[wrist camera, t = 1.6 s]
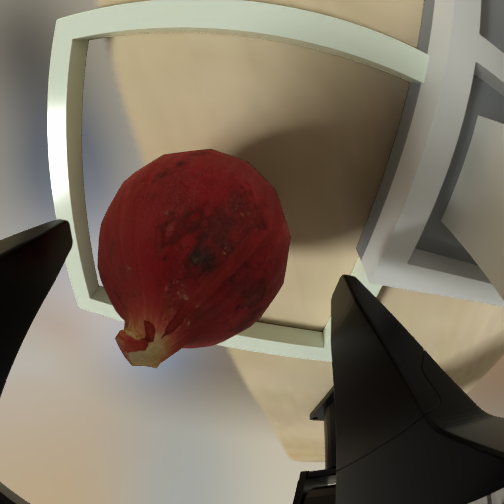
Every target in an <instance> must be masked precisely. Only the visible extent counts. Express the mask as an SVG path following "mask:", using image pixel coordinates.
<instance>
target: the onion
mask: <svg viewBox="0 0 504 504" xmlns="http://www.w3.org/2000/svg"><path fill="white" fill-rule="evenodd" d="M290 239H291V236H290V233H289V230H288V226H287V223H286V220H285V217H284V214H283V211H282V208H281V205H280V201H279V198H278V195H277V192H276V190H275V189H274V188H273V187H272V186H271V185H270V184H269V183H268V182H267V180H266V179H265V178H264V177H263V176H262V175H261V174H260V173H259V172H258V171H257V170H256V169H255V168H254V167H253V166H252V165H251V164H250V163H249V162H247V161H244V160H241V159H238V158H236V157H233V156H230V155H227V154H224V153H221V152H218V151H215V150H212V149H205V150H196V151H187V152H179V153H172V154H165V155H162V156H161V157H159V158H157V159H156V160H154V161H152V162H151V163H149V164H147V165H146V166H144V167H143V168H141V169H139V170H138V171H136V172H135V173H134V174H132V175H131V176H130V177H129V178H128V179H127V180H125V181H124V182H123V184H122V185H121V187H120V189H119V190H118V192H117V194H116V196H115V197H114V199H113V201H112V203H111V204H110V206H109V208H108V210H107V212H106V214H105V216H104V219H103V221H102V223H101V228H100V236H99V247H98V248H99V249H98V270H99V274H100V278H101V281H102V284H103V286H104V289H105V291H106V293H107V295H108V297H109V299H110V301H111V303H112V305H113V307H114V309H115V311H116V312H117V313H118V315H119V316H120V317H121V318H122V319H123V320H124V321H125V326H124V330H121V331H120V332H119V333H118V335H117V336H116V338H115V339H116V341H117V344H118V346H119V348H120V350H121V351H122V353H123V355H124V356H125V358H126V359H127V360H128V361H129V362H130V364H131V365H132V366H148V367H154V368H157V367H158V366H159V364H160V363H161V362H163V361H164V360H166V359H167V358H168V357H170V356H171V355H173V354H174V353H176V352H177V351H178V350H180V349H181V348H199V347H207V346H213V345H216V344H219V343H222V342H224V341H226V340H228V339H229V338H231V337H233V336H235V335H237V334H239V333H241V332H242V331H244V330H246V329H248V328H249V327H251V326H252V325H253V324H254V323H255V322H256V321H257V320H258V319H259V318H260V317H261V316H262V315H263V313H264V312H265V310H266V309H267V308H268V306H269V305H270V303H271V302H272V301H273V299H274V298H275V296H276V295H277V293H278V292H279V290H280V288H281V287H282V285H283V283H284V277H285V272H286V266H287V259H288V252H289V246H290Z"/></svg>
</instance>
